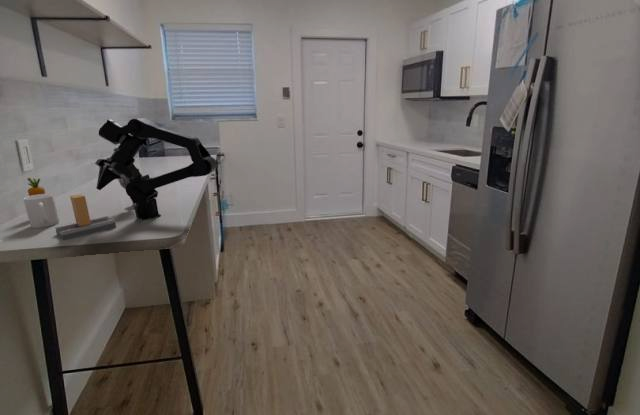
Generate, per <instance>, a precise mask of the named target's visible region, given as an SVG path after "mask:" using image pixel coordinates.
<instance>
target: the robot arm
mask: <svg viewBox="0 0 640 415" xmlns="http://www.w3.org/2000/svg"><path fill="white" fill-rule="evenodd" d="M98 136H99V137H101V138H103V139H104V140H106V141H107V142H110V143H111V144H113V145H115V146H117V145H118V144H119V145H118V146H117V147H114V149H113V150H112V151H113V153H112V155H111V156H110V157H107V158H106V159H105V158H98V159H97V160H96V162H95V163H94V164H95V165H96V166H98V168H99V170H98V175H97V176H98V177H97V181H96V182H97V183H96V188H95V189H97V190H98V191H101V190H102V189H104V188H105V187H106V186H108V185H109V184H110V183H111V182H113V181H114V180H118V179H122V177H121V175H122V174H123V175H125V176H126V178H128V179H130V182H131V183H129V184H127V185H126V189H125V192H126V195H127V196H128V197H129V198H130V200H131V201H132V204H133V203H135V204H136V206H134V207H135V210H134V212H135V217H136V218H137V219H139V220H142V221H145V220H149V219H155V218H158V217H161V214H160V213H159V208H158V203H157V201H158V200H157V199H156V198H158V197H159V196H158V194H159V192H158V190H157V189H158V188H161V187H164V186H167V185H169V184H173V183H176V182H179V181H182V180H185V179H188V178H197V177H198V178H199V177H204V176H205V177H206V176H208V175H209V174H212V173H213V172H215V171H216V170H217V168H218V162H217V160H216V159H215V158H214V157H213V156H211V154H210V152H209V150H207V148H206V147H205V146H204V145H203V144H202V142H201V141H200V139H199V138H197V137H194V136H190V135H186V134H183V133H180V132H178V131H173V130H170V129H167V128H164V127H161V126H160V125H158V124H156V123H155V122H153V121H152V120H149V119H148V118H145V117H140V118H132V119H130V120H128V122H127V124H126V125H123V126H122V124H119V123H117V122H116V121H115V120H113V119H107V120H106V122H104V124H102V126H101V127H100V128H99V129H98ZM148 139H155V140H159V141H162V142H165V143H168V144H172V145H175V146H179V147H181V148H185V149H186V150H187V151H188V154H189V156H190V158H191V162H192V163H190V164H188V165H187V166H185V167H182V168H179V169H175V170H173V171H170V172H167V173H163V174H161V175H158V176H154V177H150V175H149V174H145V175H142V172H140V169H139V168H137V167H136V166H135V164H134V163H135V161H136V159H135V157H136V155H137V154H138V152H139V151H140V150H141V148H142V147H143V148H145V149H150V146H149V140H148ZM138 169H139V170H138Z"/></svg>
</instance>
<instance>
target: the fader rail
mask: <svg viewBox="0 0 640 415" xmlns="http://www.w3.org/2000/svg"><path fill="white" fill-rule="evenodd" d="M90 221H91V223H92V225H85V226H83V227H79V228H78V227H76V225H75V224H76V222H73V223H70V224H69V223H68V224H62V225H60V226H56V227H55V233H56V235H57V236H58V237H59V238H61V239H62V240H63V241H65V240H70V239H74V238H78V237H82V236H86V235H90V234H95V233H98V232H102V231H107V230H110V229H115V228H117V225H116V222H115V219H109V218H108V215H105V216H101V217H95V218H93V219H92V218H90Z"/></svg>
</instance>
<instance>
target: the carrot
mask: <svg viewBox="0 0 640 415" xmlns="http://www.w3.org/2000/svg"><path fill="white" fill-rule="evenodd" d="M27 181H28V182H29V183H27V185H29V186H31V187H29V188H27V194H28V196H32V195H38V194H46V190H45V188H44V187H42V186H39V184H40V181H41V178H37V179H36V178H31V177H27Z"/></svg>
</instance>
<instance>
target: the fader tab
mask: <svg viewBox="0 0 640 415" xmlns="http://www.w3.org/2000/svg"><path fill="white" fill-rule="evenodd" d="M69 197H70V201H71V207H72V210H73V214H74V219H75V223H76V224H75V225H76V227H78V228H79V227H83V226H85V225H92V223H91V221H90V220H91V218H90V213H89V209H88V204H87V199H86V196H85V195H83V194H80V193H79V194H74V195H70V196H69Z"/></svg>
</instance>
